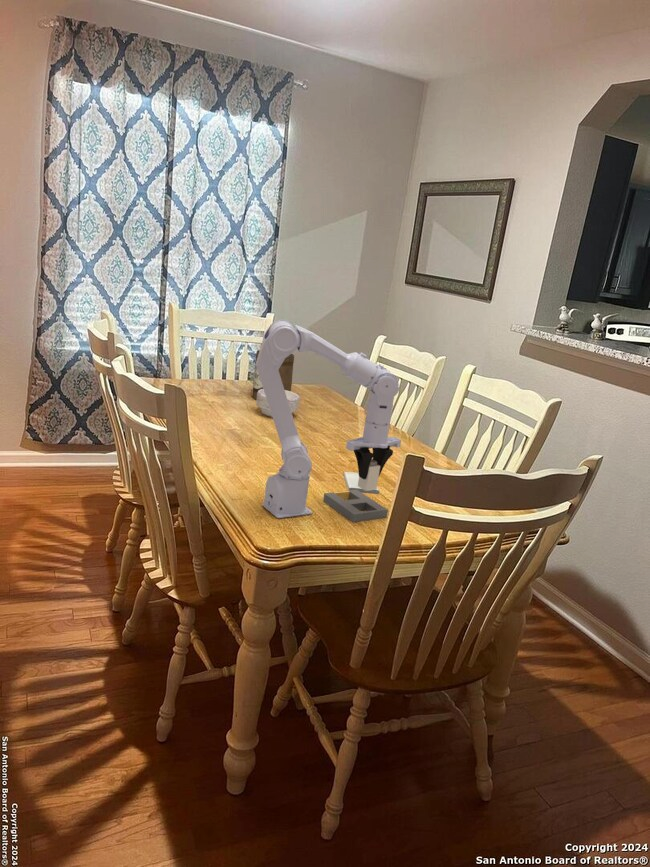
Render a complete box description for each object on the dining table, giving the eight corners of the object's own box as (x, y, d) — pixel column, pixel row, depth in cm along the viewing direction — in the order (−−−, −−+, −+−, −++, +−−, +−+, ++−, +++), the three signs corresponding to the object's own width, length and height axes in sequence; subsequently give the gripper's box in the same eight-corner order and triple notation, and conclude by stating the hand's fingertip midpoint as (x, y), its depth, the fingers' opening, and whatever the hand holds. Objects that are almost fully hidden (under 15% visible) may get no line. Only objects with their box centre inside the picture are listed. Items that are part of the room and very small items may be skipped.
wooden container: (248, 393, 261) (254, 338, 255) (284, 395, 266) (290, 341, 260) (256, 403, 248) (262, 345, 242) (293, 405, 252) (300, 348, 246)
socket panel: (353, 522, 152) (354, 514, 152) (323, 500, 162) (324, 493, 162) (386, 517, 158) (387, 509, 157) (355, 496, 168) (356, 489, 167)
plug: (365, 490, 153) (370, 463, 151) (357, 485, 156) (361, 458, 154) (376, 489, 155) (380, 462, 153) (368, 484, 158) (372, 458, 156)
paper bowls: (296, 423, 228) (298, 401, 226) (252, 417, 228) (254, 395, 226) (298, 412, 243) (301, 391, 240) (257, 406, 242) (260, 385, 240)
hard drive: (379, 490, 172) (372, 473, 184) (348, 487, 171) (344, 471, 183) (378, 496, 172) (372, 479, 184) (347, 493, 171) (343, 476, 183)
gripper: (362, 428, 144) (353, 485, 148) (412, 425, 152) (403, 480, 156) (344, 419, 149) (336, 474, 153) (393, 417, 157) (384, 470, 161)
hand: (368, 477), depth 155 cm, fingers closed on plug, 3 cm apart
